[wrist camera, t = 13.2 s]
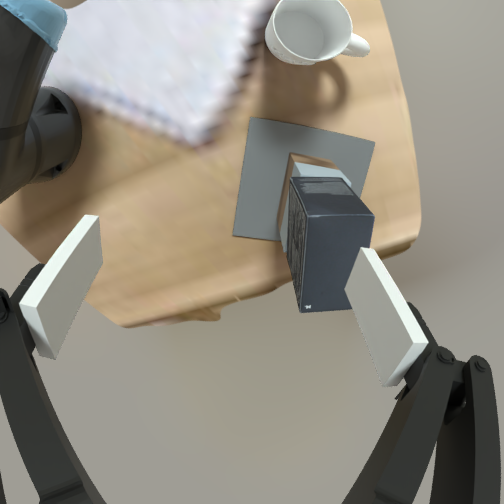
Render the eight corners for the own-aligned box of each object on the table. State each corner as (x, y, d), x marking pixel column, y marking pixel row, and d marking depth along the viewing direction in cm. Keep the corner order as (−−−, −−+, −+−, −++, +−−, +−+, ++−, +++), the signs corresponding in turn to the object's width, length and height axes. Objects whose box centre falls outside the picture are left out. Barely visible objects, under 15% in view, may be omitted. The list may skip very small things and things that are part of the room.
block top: (279, 232, 44) (283, 252, 39) (294, 161, 39) (300, 174, 34) (322, 238, 44) (329, 257, 40) (340, 170, 39) (351, 183, 35)
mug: (344, 81, 38) (378, 86, 28) (258, 58, 36) (263, 52, 26) (358, 29, 34) (395, 18, 23) (272, 4, 32) (281, -20, 22)
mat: (232, 233, 50) (232, 235, 49) (250, 116, 41) (250, 117, 40) (343, 248, 52) (343, 249, 51) (374, 141, 42) (375, 142, 42)
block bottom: (276, 216, 48) (279, 232, 44) (289, 152, 43) (294, 161, 39) (315, 222, 49) (321, 238, 44) (330, 159, 43) (340, 170, 39)
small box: (336, 256, 40) (359, 311, 31) (285, 258, 40) (296, 315, 31) (345, 176, 34) (379, 216, 25) (288, 175, 34) (304, 216, 25)
